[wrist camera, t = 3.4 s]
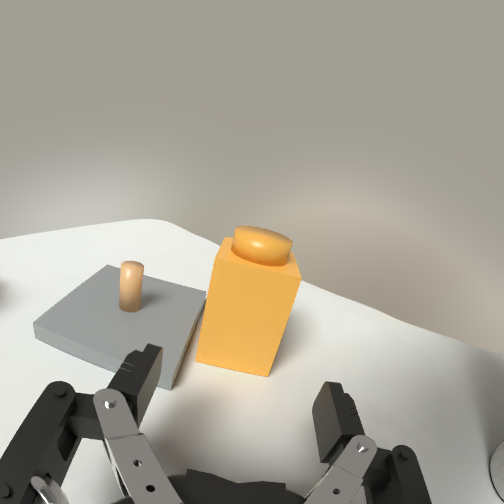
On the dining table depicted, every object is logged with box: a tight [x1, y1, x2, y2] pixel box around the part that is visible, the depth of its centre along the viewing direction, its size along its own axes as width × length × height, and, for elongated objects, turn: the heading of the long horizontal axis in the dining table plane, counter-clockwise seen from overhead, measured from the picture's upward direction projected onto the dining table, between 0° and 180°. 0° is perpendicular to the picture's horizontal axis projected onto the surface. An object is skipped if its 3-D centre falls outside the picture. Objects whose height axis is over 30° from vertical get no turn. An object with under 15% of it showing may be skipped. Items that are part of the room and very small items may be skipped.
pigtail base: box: [33, 261, 206, 390], centre depth 24 cm, size 12×14×6 cm
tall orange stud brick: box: [195, 226, 301, 377], centre depth 24 cm, size 6×6×11 cm
